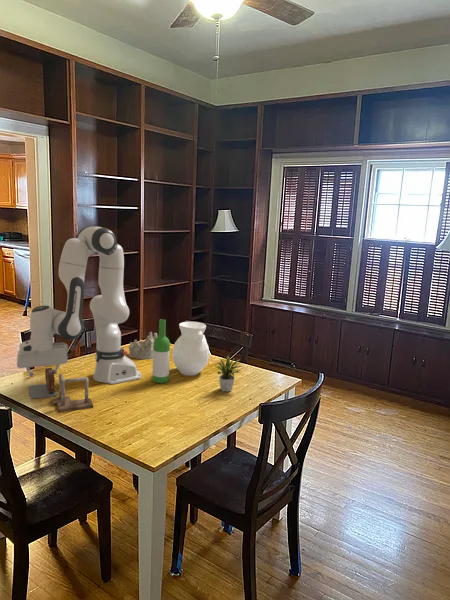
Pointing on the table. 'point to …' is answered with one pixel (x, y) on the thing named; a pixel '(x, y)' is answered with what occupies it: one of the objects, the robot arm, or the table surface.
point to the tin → (50, 380)
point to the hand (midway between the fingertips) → (43, 374)
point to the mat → (40, 391)
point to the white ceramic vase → (191, 348)
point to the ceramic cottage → (143, 348)
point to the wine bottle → (161, 355)
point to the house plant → (227, 374)
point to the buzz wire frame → (65, 402)
